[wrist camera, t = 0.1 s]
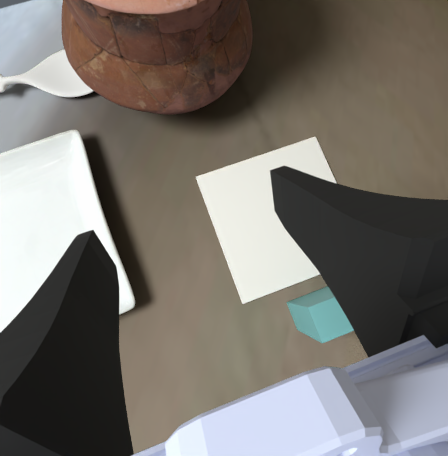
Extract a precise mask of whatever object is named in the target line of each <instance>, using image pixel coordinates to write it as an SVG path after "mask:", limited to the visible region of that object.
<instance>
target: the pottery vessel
mask: <svg viewBox="0 0 448 456" xmlns="http://www.w3.org/2000/svg"><path fill="white" fill-rule="evenodd" d="M62 40H63V45H64V49H65V52H66V56H67V58H68V61H69V63H70V65H71V66H72V68H73V69H74V71H75V72H76V74H77V75H78V76H79V77H80V79H81V80H82V81H83V82H84V83H85V84H86V85H87V86H88V87H90V88H91V89H92V90H93V91H95V92H96V93H98V94H99V95H101V96H103V97H104V98H106V99H108V100H110V101H112V102H114V103H116V104H118V105H120V106H123V107H126V108H129V109H133V110H138V111H144V112H150V113H157V114H166V115H172V114H182V113H187V112H191V111H194V110H197V109H199V108H202V107H204V106H206V105H208V104H210V103H212V102H213V101H215V100H216V99H218V98H219V97H220V96H221V95H222V94H224V93H225V92H226V91H227V90H228V89H229V88H230V86H231V85H232V84H233V83H234V82H235V80H236V79H237V78H238V76H239V75H240V74H241V72H242V71H243V69H244V68H245V66H246V64H247V62H248V60H249V57H250V54H251V50H252V41H253V28H252V21H251V15H250V10H249V6H248V3H247V0H63V5H62Z"/></svg>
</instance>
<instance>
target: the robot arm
mask: <svg viewBox="0 0 448 456" xmlns="http://www.w3.org/2000/svg"><path fill="white" fill-rule="evenodd" d="M270 176H271V184H272V193H273V202H274V210H275V212H276V214H277V216H278V218H279V219H280V221H281V223H282V225H283V226H284V228H285V229H286V231H287V232H288V233H289V235H290V236H291V237H292V238H293V240H294V241H295V242H296V243H297V245H298V246H299V247H300V248H301V250H302V251H303V252H304V253H305V255H306V256H307V257H308V258H309V260H310V261H311V262H312V263H313V265H314V266H315V267H316V269H317V270H318V271H319V273H320V274H321V276H322V277H323V279H324V281H325V282H326V284H327V285H328V287H329V288H330V290H331V292H332V293H333V295H334V297H335V298H336V300H337V302H338V303H339V305H340V307H341V308H342V310H343V312H344V313H345V315H346V317H347V319H348V320H349V322H350V324H351V326H352V328H353V329H354V331H355V333H356V335H357V336H358V338H359V340H360V342H361V344H362V346H363V348H364V350H365V352H366V353H367V355H368V357H369V358H366V359H364V360H361V361H359V362H356V363H354V364H352V365H349V366H347V367H344V368H338V367H327V366H324V367H320V368H316V369H313V370H309V371H306V372H303V373H300V374H298V375H295V376H293V377H290V378H288V379H286V380H283V381H281V382H278V383H276V384H273V385H271V386H268V387H266V388H264V389H261V390H259V391H256V392H254V393H251V394H249V395H246V396H244V397H241V398H239V399H237V400H234V401H232V402H229V403H227V404H224V405H222V406H219V407H217V408H215V409H212V410H210V411H207V412H205V413H202V414H200V415H198V416H196V417H195V418H193V419H191V420H189V421H187V422H185V423H184V424H182V425H180V426H179V427H178V428H177V429H176V430H175V432H174V433H173V434H172V435H171V436H170V437H169V438H168V440H167V441H165V442H162V443H160V444H158V445H155V446H153V447H150V448H148V449H146V450H143V451H141V452H138V453H136V454H134V453H133V447H132V442H131V436H130V431H129V424H128V418H127V411H126V405H125V398H124V390H123V382H122V374H121V364H120V354H119V281H118V274H117V267H116V265H115V263H114V262H113V260H112V258H111V257H110V255H109V254H108V252H107V251H106V249H105V247H104V246H103V244H102V243H101V241H100V239H99V238H98V236H97V235H96V233H95V232H94V230H90V231H87V232H84V233H81V234H78V235H77V236H76V237H75V238H74V240H73V241H72V243H71V244H70V246H69V247H68V248H67V250H66V251H65V253H64V254H63V256H62V257H61V259H60V260H59V262H58V263H57V265H56V266H55V268H54V269H53V270H52V272H51V273H50V275H49V276H48V277H47V279H46V280H45V281H44V283H43V284H42V285H41V287H40V288H39V289H38V291H37V292H36V293H35V295H34V296H33V297H32V298H31V300H30V301H29V302H28V303H27V304H26V306H25V307H24V308H23V309H22V310H21V311H20V312H19V314H18V315H17V316H16V317H15V318H14V319H13V320H12V321H11V322H10V323H9V324H8V325H7V327H5V328H4V329H3V330H2V331H1V332H0V456H448V200H435V199H419V198H407V197H399V196H391V195H384V194H378V193H373V192H368V191H363V190H359V189H354V188H350V187H347V186H343V185H340V184H336V183H333V182H330V181H327V180H324V179H321V178H318V177H315V176H313V175H310V174H307V173H304V172H302V171H299V170H296V169H293V168H290V167H287V166H281V167H278V168H275V169H272V170H270Z"/></svg>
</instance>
